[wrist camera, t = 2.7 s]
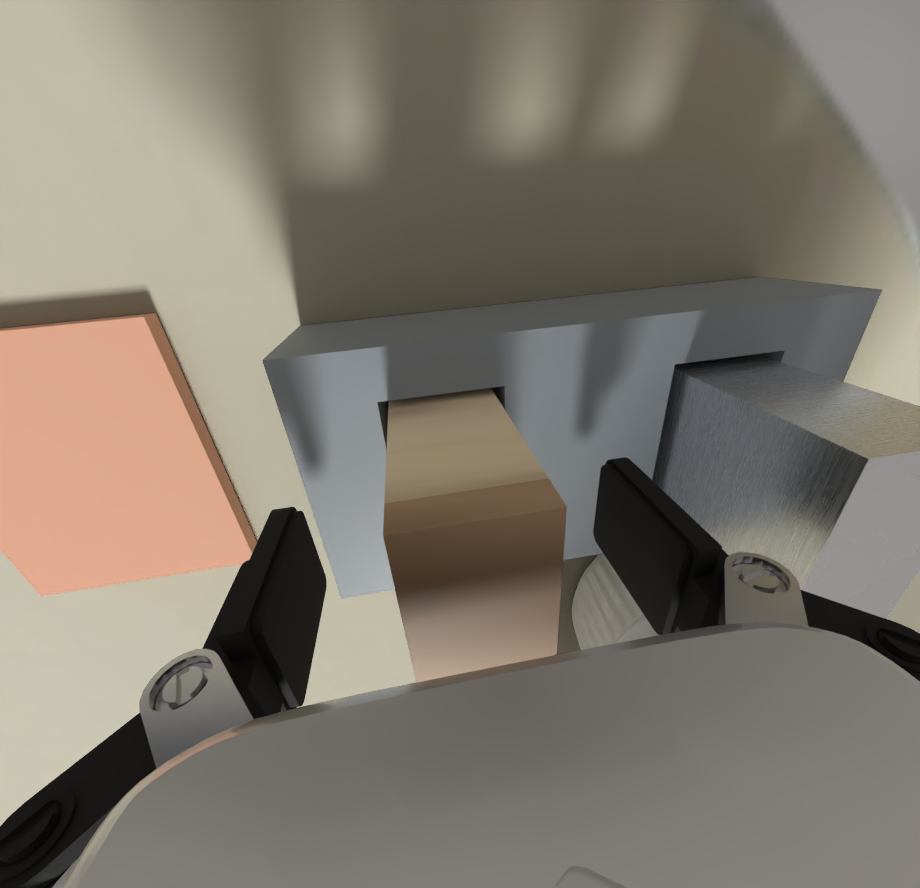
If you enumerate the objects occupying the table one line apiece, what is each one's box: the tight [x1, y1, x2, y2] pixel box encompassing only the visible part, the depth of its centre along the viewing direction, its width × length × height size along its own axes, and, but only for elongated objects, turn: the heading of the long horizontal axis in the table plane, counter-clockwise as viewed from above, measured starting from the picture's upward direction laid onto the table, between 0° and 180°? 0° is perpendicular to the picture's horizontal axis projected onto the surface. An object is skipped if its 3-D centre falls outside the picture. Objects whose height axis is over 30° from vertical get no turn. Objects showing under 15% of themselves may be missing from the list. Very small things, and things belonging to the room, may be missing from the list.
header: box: [262, 277, 882, 599], centre depth 16 cm, size 10×20×5 cm, turn 94°
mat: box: [0, 313, 257, 596], centre depth 16 cm, size 12×10×1 cm
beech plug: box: [383, 388, 567, 683], centre depth 13 cm, size 6×4×11 cm, turn 4°
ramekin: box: [572, 554, 659, 650], centre depth 23 cm, size 13×13×7 cm
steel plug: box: [652, 354, 920, 619], centre depth 14 cm, size 6×4×11 cm, turn 5°
